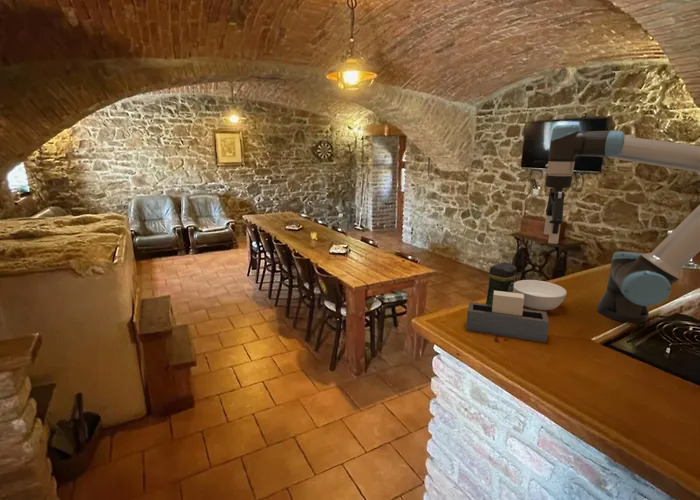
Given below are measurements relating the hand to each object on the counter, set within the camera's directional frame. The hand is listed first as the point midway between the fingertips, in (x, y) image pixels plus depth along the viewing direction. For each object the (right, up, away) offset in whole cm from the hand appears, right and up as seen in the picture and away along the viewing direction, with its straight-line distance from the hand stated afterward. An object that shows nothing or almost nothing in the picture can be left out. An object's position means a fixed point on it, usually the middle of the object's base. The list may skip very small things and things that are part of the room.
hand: (550, 238), depth 129 cm
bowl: (+4, -26, +17) cm, 31 cm away
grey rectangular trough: (-17, -31, -3) cm, 35 cm away
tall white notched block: (-17, -29, -4) cm, 34 cm away
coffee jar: (-13, -27, +11) cm, 32 cm away
